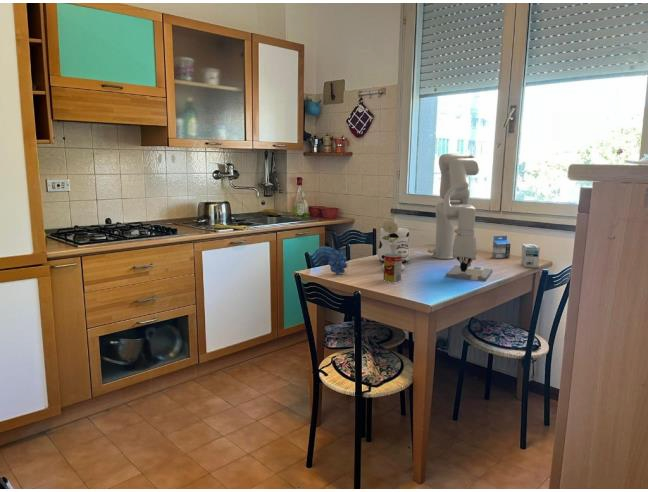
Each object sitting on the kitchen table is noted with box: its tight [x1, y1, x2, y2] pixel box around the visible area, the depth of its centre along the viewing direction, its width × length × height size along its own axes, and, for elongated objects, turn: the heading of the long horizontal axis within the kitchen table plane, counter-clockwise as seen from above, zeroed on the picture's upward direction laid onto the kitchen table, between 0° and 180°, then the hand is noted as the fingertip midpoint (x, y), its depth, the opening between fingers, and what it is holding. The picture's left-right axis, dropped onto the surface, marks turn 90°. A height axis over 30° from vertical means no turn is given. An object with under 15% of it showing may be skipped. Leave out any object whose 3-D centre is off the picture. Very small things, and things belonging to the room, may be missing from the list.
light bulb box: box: [520, 243, 541, 269], centre depth 246 cm, size 11×7×11 cm, turn 168°
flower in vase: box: [381, 220, 405, 272], centre depth 233 cm, size 13×11×25 cm
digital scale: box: [445, 264, 493, 282], centre depth 227 cm, size 18×20×2 cm
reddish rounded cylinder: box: [463, 257, 473, 267], centre depth 242 cm, size 4×4×9 cm
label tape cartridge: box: [491, 235, 511, 260], centre depth 265 cm, size 9×4×12 cm, turn 104°
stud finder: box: [467, 266, 485, 276], centre depth 220 cm, size 7×5×3 cm
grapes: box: [328, 250, 348, 275], centre depth 224 cm, size 12×7×12 cm, turn 133°
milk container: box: [377, 226, 411, 264], centre depth 253 cm, size 17×17×18 cm
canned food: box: [383, 253, 403, 283], centre depth 214 cm, size 8×8×12 cm
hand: (463, 271), depth 222 cm, fingers closed
